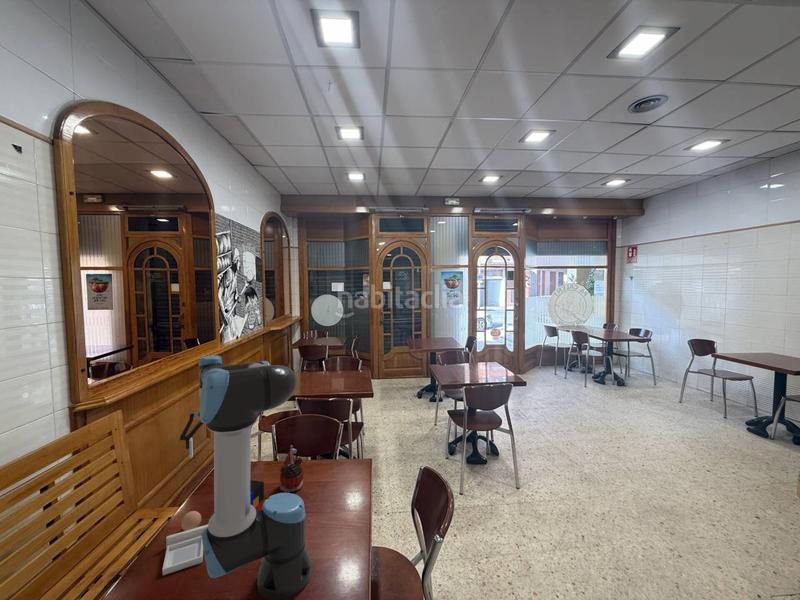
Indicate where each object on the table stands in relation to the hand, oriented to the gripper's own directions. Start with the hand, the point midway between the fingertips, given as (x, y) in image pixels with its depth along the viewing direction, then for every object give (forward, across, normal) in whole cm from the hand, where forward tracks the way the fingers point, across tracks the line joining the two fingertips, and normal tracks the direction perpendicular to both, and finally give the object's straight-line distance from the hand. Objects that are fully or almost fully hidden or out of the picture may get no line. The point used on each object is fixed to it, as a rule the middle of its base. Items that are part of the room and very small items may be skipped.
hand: (212, 452), depth 127 cm
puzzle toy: (+23, -10, +6) cm, 26 cm away
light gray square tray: (+23, +7, +20) cm, 31 cm away
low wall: (+23, +7, +13) cm, 27 cm away
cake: (+23, -29, -3) cm, 37 cm away
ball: (+23, +6, +7) cm, 25 cm away
